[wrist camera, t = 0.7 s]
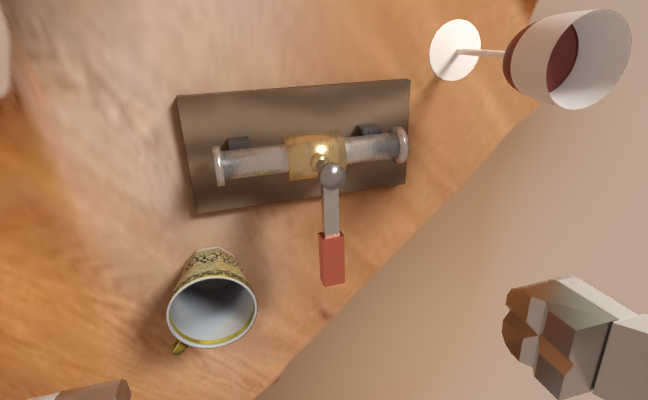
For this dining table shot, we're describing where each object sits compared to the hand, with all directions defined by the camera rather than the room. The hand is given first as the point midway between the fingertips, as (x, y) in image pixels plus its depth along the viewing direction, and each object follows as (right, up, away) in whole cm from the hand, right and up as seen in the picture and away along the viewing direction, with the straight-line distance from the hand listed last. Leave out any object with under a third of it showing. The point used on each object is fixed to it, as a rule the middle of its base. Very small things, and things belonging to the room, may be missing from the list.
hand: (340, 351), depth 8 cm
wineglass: (+17, +23, +43) cm, 51 cm away
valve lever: (0, +1, +36) cm, 36 cm away
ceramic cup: (-17, -7, +45) cm, 49 cm away
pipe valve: (-3, +10, +41) cm, 42 cm away
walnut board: (-3, +10, +42) cm, 43 cm away
